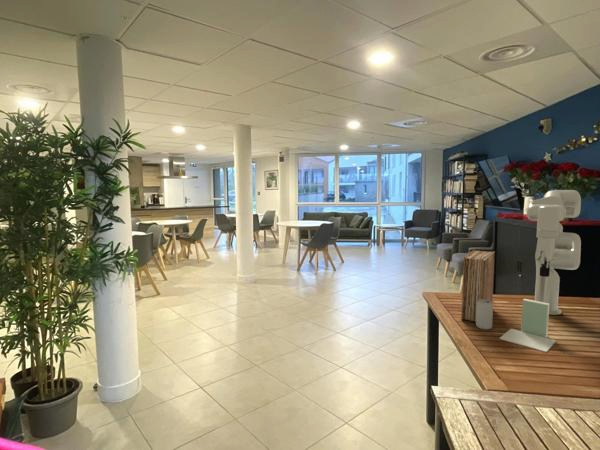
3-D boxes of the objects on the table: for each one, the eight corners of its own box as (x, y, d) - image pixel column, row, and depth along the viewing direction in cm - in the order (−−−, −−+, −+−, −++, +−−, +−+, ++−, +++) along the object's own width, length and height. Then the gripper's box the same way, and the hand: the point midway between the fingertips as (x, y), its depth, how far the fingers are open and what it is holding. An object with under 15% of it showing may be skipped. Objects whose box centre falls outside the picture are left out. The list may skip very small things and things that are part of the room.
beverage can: (494, 330, 148) (495, 303, 147) (478, 329, 150) (479, 303, 148) (489, 325, 155) (490, 299, 153) (473, 324, 156) (474, 298, 155)
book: (482, 324, 155) (486, 259, 152) (460, 320, 161) (463, 257, 158) (492, 308, 175) (494, 250, 172) (472, 305, 181) (474, 249, 178)
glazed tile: (522, 330, 149) (524, 298, 148) (547, 336, 142) (549, 303, 141) (520, 331, 148) (522, 299, 146) (545, 338, 141) (548, 304, 139)
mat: (511, 329, 150) (511, 328, 150) (555, 341, 138) (555, 340, 138) (499, 339, 140) (499, 338, 140) (546, 352, 128) (546, 351, 128)
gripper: (541, 232, 156) (539, 271, 158) (531, 235, 146) (529, 277, 148) (562, 233, 150) (559, 274, 152) (553, 236, 140) (550, 280, 142)
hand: (544, 275), depth 150 cm, fingers closed
